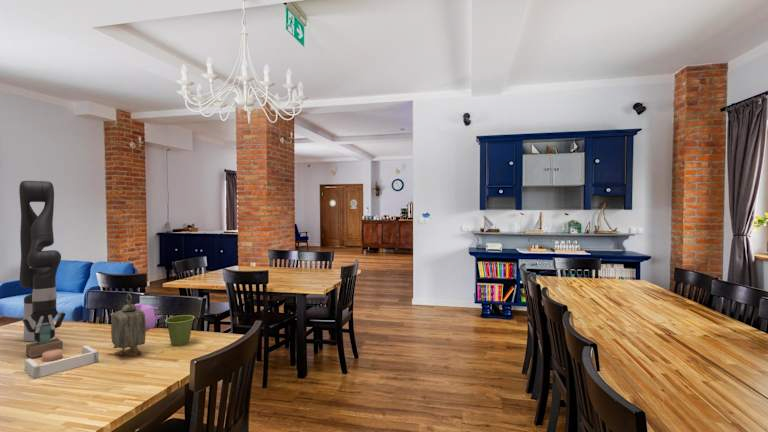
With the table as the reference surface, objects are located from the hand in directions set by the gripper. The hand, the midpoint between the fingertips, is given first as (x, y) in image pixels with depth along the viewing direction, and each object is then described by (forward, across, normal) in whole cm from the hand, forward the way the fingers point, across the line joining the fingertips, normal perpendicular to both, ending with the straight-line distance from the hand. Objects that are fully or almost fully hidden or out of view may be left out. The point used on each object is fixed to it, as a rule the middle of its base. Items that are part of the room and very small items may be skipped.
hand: (44, 339), depth 159 cm
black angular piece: (+7, -24, +13) cm, 28 cm away
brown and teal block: (+5, 0, 0) cm, 5 cm away
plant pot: (+6, -39, +33) cm, 52 cm away
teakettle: (+6, -38, -8) cm, 39 cm away
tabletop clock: (+6, -20, +28) cm, 35 cm away
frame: (+6, 0, +22) cm, 23 cm away
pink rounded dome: (+6, 0, +10) cm, 12 cm away
